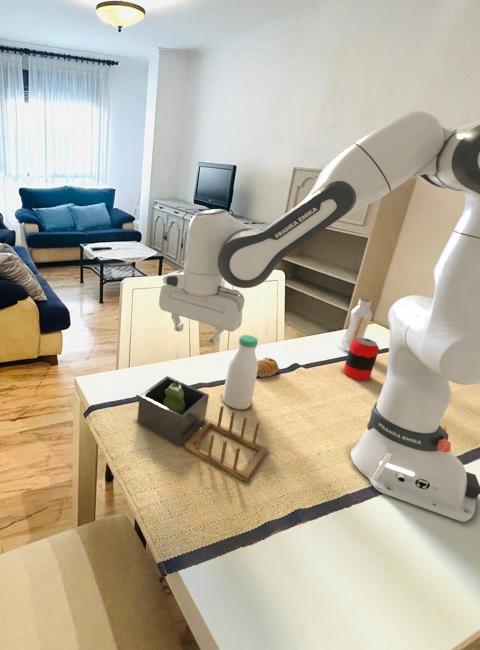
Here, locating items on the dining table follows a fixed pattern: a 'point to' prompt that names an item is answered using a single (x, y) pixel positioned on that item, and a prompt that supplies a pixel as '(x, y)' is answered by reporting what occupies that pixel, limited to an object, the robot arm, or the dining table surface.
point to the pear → (175, 398)
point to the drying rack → (232, 434)
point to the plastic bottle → (357, 323)
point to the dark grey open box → (167, 419)
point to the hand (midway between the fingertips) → (195, 336)
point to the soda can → (361, 359)
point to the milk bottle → (241, 374)
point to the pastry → (267, 367)
